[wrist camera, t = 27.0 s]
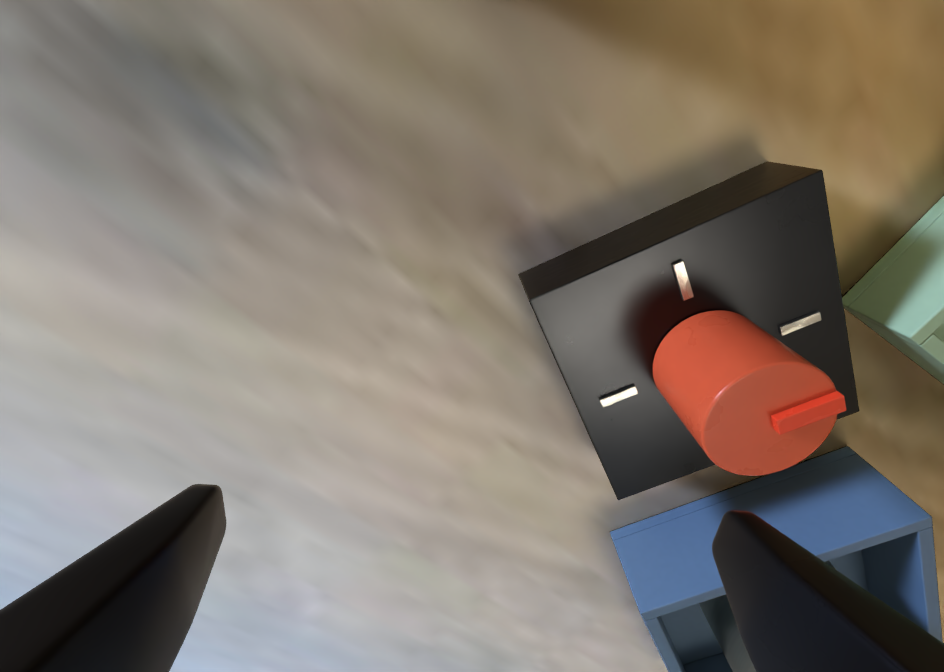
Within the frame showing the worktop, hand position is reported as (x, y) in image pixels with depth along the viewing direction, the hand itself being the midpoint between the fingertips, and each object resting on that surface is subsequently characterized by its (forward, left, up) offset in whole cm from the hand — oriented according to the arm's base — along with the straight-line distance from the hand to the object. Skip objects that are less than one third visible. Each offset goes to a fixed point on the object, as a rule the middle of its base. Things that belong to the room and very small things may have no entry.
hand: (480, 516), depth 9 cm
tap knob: (+1, +9, -9) cm, 13 cm away
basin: (+15, +16, -12) cm, 26 cm away
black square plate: (+1, +9, -12) cm, 15 cm away
